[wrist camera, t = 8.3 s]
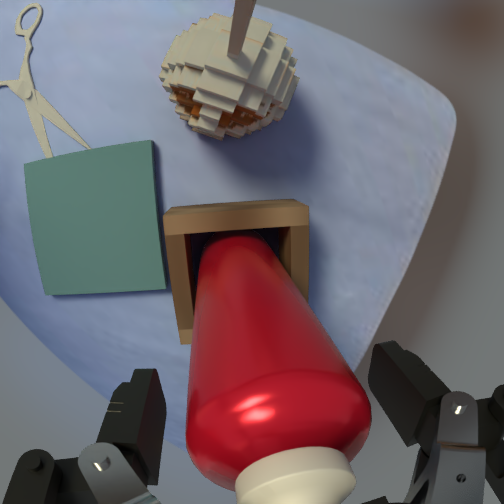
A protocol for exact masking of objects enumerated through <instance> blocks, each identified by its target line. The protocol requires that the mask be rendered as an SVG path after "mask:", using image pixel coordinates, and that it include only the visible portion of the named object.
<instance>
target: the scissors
mask: <svg viewBox="0 0 504 504" xmlns="http://www.w3.org/2000/svg"><path fill="white" fill-rule="evenodd" d="M33 7H35V8H37V9H38V11H39V13H38V16H37V18H36V21H35V23H34V24H33V25H32V26H31V27H30V28H29V29H27V30H23V29H22V26H21V20H22V17H23V15H24V14H25V13H26V12H27V11H28V10H29V9H30V8H33ZM42 14H43V9H42V7H41V6H40V5H39V4H38V3H32V4H29V5H28V6H26V7H25V8H24V9H23V10H22V11H21V12H20V14H19V16H18V18H17V19H16V25H15V33H16V35H22V36H25V38H24V39H25V41H26V51H25V56H24V60H23V64H22V67H21V70H20V76H19V80H7V81H0V87H1V86H4V85H7V86H8V87H9V88H10V89H11V90H12V91H13V92H14V93H15V94H16V95H18V96H19V97H20V98H21V99H22V100H24V102H25V105H26V108H27V111H28V114H29V117H30V120H31V123H32V126H33V128H34V131H35V133H36V136H37V138H38V141H39V143H40V145H41V147H42V150H43V152H44V154H45V156H46V158H51V157H53V155H52V152H51V149H50V146H49V142H48V139H47V136H46V132H45V128H44V123H43V119H42V116H41V114H42V115H43V116H44V117H45V118H47V119H48V120H49V121H51V122H52V123H53V124H54V125H56V126H57V127H58V128H60V129H61V130H63V131H64V132H65V133H67V134H68V135H69V136H71V137H72V138H74V139H75V140H76V141H78V142H79V143H81V144H82V145H83V146H85V147H86V148H87V149H91V148H90V147H89V146H88V145H87V144H86V143H85V142H84V140H83V139H82V138H81V137H80V136H79V135H78V134H77V133H76V132H75V131H74V129H73V128H72V127H71V126H70V125H69V124H68V123H67V122H66V121H65V120H64V118H63V117H62V116H61V115H60V114H59V113H58V112H57V111H56V110H55V109H54V107H53V106H52V105H51V104H50V103H49V102H48V101H47V100H46V99H45V98H44V97H43V96H42V95H41V94H40V93H39V92H38V91H37V90H36V89H35V86H34V82H33V79H32V75H31V72H30V65H29V55H30V53H31V51H32V48H33V46H32V43H31V40H30V39H31V37H32V35H33V33H34V31H35V29H36V28H37V26H38V25H39V23H40V20H41V17H42Z"/></svg>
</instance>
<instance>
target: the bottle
mask: <svg viewBox="0 0 504 504" xmlns="http://www.w3.org/2000/svg"><path fill="white" fill-rule="evenodd" d="M371 421H372V416H371V405H370V402H369V399H368V397H367V395H366V392H365V390H364V389H363V387H362V386H361V384H360V383H359V381H358V380H357V378H356V376H355V375H354V373H353V372H352V370H351V369H350V367H349V365H348V364H347V362H346V361H345V359H344V358H343V356H342V355H341V353H340V352H339V350H338V349H337V347H336V346H335V344H334V342H333V341H332V339H331V338H330V336H329V335H328V333H327V332H326V330H325V329H324V327H323V326H322V324H321V323H320V321H319V320H318V318H317V317H316V315H315V314H314V312H313V311H312V309H311V308H310V306H309V305H308V303H307V301H306V300H305V298H304V297H303V295H302V294H301V292H300V291H299V289H298V288H297V286H296V285H295V283H294V282H293V280H292V279H291V278H290V276H289V275H288V273H287V272H286V270H285V269H284V267H283V266H282V264H281V263H280V261H279V260H278V258H277V257H276V255H275V254H274V252H273V251H272V249H271V248H270V246H269V245H268V243H267V242H266V241H265V239H264V238H263V237H262V236H261V235H260V234H258V233H257V232H256V231H254V230H252V229H241V230H227V231H218V232H216V233H215V234H214V235H212V236H211V237H210V238H209V239H208V241H207V242H206V243H205V245H204V247H203V249H202V253H201V258H200V266H199V275H198V284H197V293H196V302H195V312H194V322H193V333H192V344H191V356H190V369H189V382H188V397H187V413H186V432H185V434H186V448H187V451H188V453H189V455H190V458H191V460H192V462H193V464H194V465H195V466H196V467H197V469H198V470H199V471H200V472H201V473H202V474H203V475H204V476H205V477H206V478H208V479H209V480H210V481H212V482H213V483H215V484H217V485H219V486H221V487H223V488H226V489H228V490H231V491H235V492H236V499H237V504H341V503H342V502H343V501H344V500H345V499H346V498H347V497H348V496H349V495H350V494H351V492H352V491H353V490H354V488H355V485H356V477H355V475H354V473H353V471H352V468H351V466H350V464H349V463H350V462H351V461H352V460H353V458H354V457H355V456H356V455H357V454H358V452H359V451H360V450H361V448H362V447H363V445H364V443H365V441H366V439H367V437H368V435H369V431H370V426H371Z"/></svg>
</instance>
